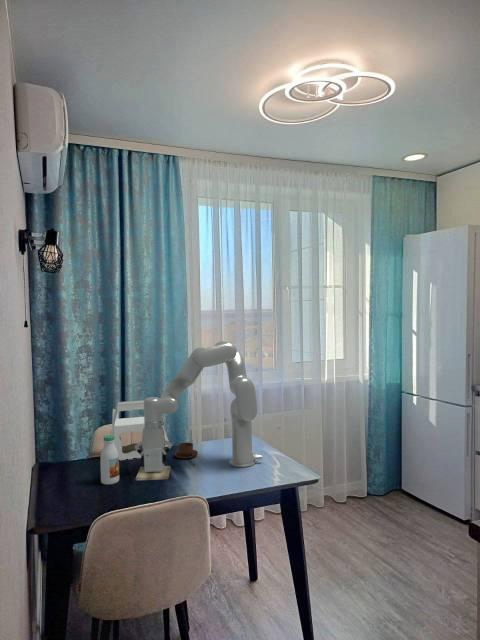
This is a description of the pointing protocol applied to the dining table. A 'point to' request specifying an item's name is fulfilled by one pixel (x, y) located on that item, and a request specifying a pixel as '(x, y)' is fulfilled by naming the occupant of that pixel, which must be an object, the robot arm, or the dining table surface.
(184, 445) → the cup and saucer
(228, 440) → the dining table surface
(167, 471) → the oak board
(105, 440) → the milk bottle
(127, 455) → the gable box
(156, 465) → the small box
